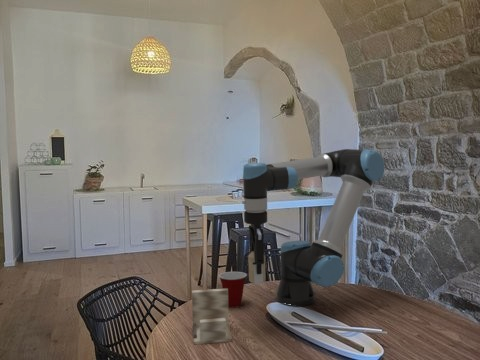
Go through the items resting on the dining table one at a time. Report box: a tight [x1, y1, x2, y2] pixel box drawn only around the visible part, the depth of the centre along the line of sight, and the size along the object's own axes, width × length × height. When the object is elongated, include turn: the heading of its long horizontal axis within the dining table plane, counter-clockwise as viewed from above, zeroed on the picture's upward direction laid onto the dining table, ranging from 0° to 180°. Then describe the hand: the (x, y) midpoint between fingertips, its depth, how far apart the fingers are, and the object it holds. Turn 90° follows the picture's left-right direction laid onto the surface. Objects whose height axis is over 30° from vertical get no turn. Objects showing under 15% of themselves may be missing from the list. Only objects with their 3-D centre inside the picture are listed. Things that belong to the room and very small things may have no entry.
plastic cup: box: [218, 271, 248, 308], centre depth 158 cm, size 11×11×12 cm
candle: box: [247, 251, 267, 284], centre depth 136 cm, size 6×6×10 cm
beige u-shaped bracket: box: [191, 288, 233, 345], centre depth 134 cm, size 12×12×13 cm
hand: (256, 279), depth 136 cm, fingers closed on candle, 5 cm apart
